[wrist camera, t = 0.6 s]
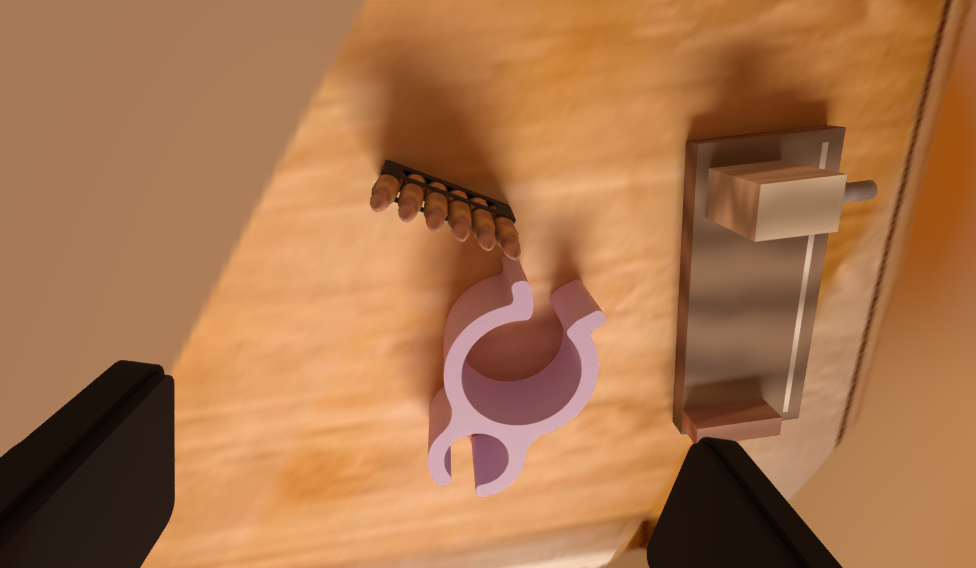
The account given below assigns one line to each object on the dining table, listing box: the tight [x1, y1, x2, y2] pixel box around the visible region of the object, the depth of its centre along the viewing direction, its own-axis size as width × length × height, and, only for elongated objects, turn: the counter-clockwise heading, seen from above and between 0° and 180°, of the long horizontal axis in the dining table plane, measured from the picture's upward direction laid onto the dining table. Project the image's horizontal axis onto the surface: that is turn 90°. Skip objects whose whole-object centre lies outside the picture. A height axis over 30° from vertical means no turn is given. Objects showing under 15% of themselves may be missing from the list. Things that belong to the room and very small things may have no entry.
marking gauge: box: [706, 160, 877, 242], centre depth 37 cm, size 4×10×7 cm, turn 96°
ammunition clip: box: [370, 160, 521, 260], centre depth 35 cm, size 11×2×12 cm, turn 69°
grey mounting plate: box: [673, 126, 846, 444], centre depth 44 cm, size 28×12×5 cm, turn 6°
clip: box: [428, 255, 606, 497], centre depth 44 cm, size 20×12×7 cm, turn 156°
